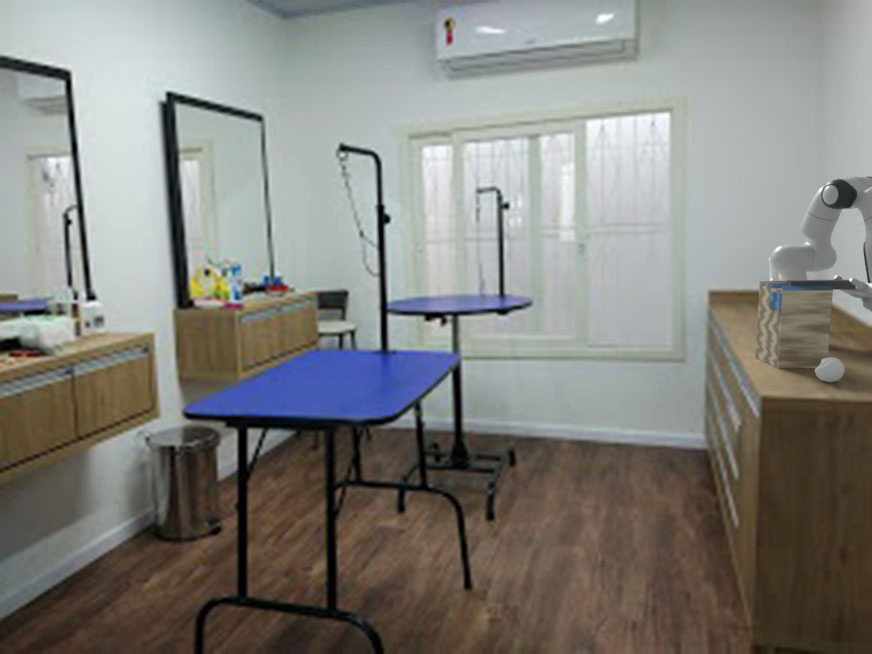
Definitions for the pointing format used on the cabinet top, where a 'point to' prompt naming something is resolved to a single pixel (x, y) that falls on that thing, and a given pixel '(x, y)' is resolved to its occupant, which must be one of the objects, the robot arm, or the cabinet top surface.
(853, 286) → the dark grey piece
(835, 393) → the cabinet top surface
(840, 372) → the white round lump
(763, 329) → the riser
